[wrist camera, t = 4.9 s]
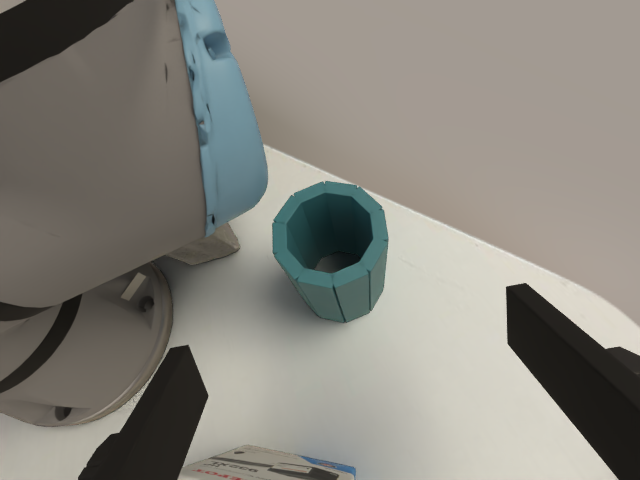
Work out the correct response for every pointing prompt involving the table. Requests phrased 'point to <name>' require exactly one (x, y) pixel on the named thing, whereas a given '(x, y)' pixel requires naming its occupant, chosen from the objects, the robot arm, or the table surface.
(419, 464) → the table surface
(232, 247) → the mineral specimen
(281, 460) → the ink box
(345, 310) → the slatted pencil holder
